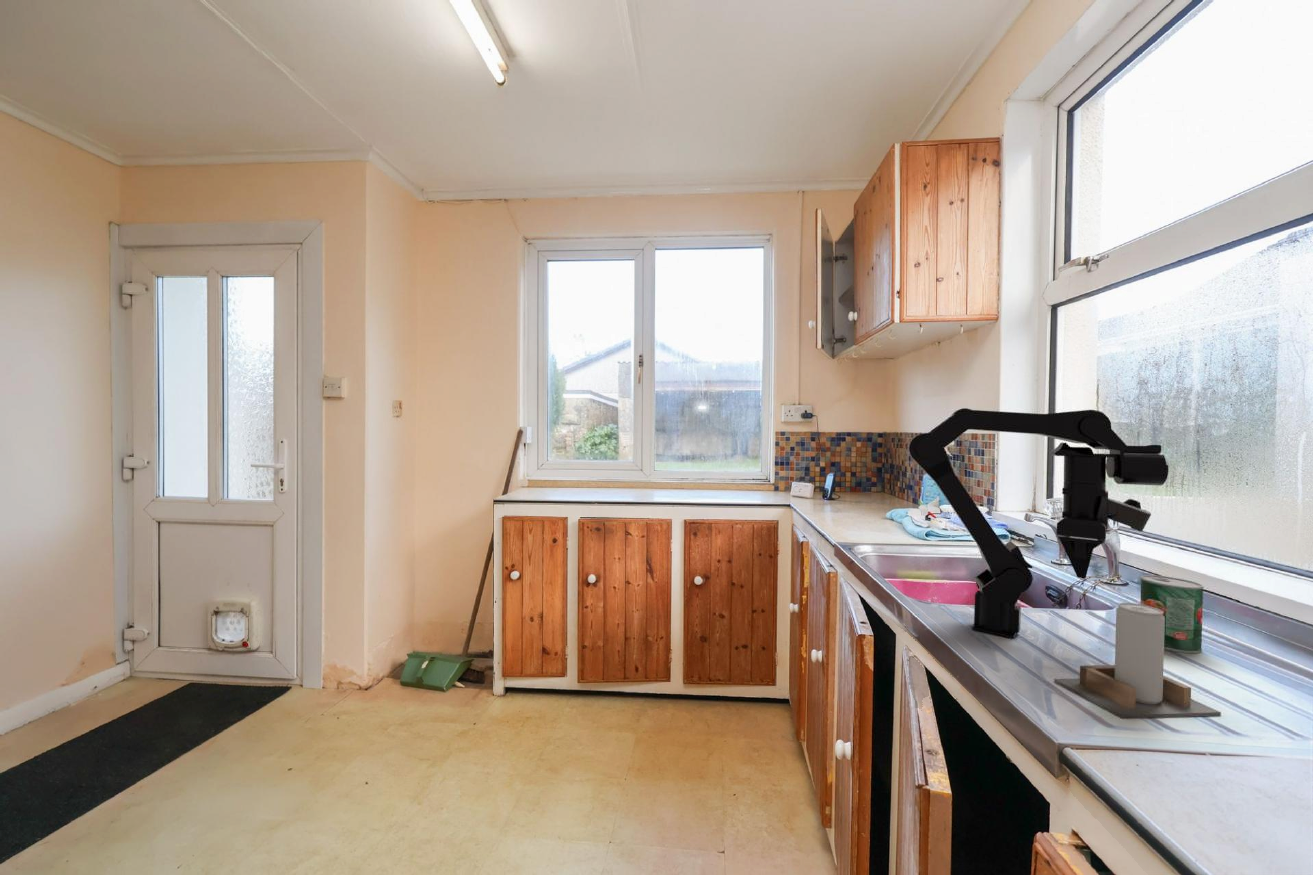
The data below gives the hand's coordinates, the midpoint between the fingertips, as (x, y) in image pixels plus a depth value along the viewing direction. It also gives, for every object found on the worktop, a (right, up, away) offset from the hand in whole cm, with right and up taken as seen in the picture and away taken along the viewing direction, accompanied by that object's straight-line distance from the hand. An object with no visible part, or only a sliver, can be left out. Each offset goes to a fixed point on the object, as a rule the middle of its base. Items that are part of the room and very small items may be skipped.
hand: (1083, 573), depth 93 cm
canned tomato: (+15, -13, 0) cm, 20 cm away
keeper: (-9, -12, -21) cm, 26 cm away
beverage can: (-9, -12, -21) cm, 26 cm away
